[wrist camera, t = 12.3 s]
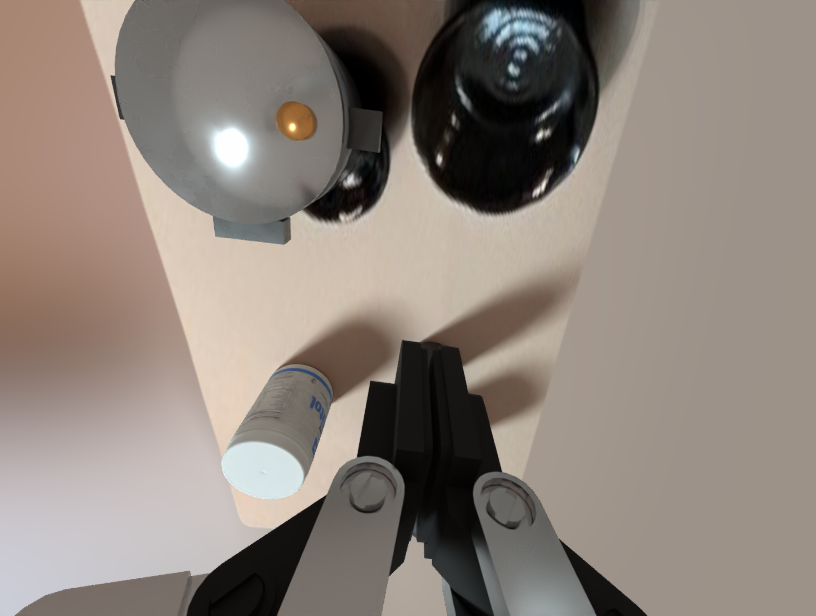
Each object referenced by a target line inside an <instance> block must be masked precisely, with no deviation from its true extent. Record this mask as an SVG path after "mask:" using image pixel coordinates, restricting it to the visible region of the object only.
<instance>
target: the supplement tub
mask: <svg viewBox="0 0 816 616" xmlns="http://www.w3.org/2000/svg"><path fill="white" fill-rule="evenodd" d="M332 399H333V390H332V386H331V384H330V382H329V381H328V379H327V378H326V377H325V376H324V375H323V374H322V373H321V372H320V371H318V370H317V369H315V368H313V367H310V366H307V365H302V364H292V365H287V366H284V367H282V368H280V369H278V370H277V371H275V372H274V373H273V374H272V376H271V377H270V379H269V380H268V382H267V384H266V385H265V387H264V388H263V390H262V392H261V393H260V395H259V396H258V398H257V400H256V401H255V403H254V404H253V406H252V408H251V409H250V411H249V412H248V414H247V415H246V417H245V419H244V420H243V422H242V423H241V425H240V427H239V428H238V430H237V431H236V433H235V435H234V436H233V438H232V440H231V441H230V443H229V444H228V446H227V449H226V451H225V453H224V455H223V458H222V470H223V473H224V475H225V477H226V478H227V480H228V481H229V482H230V483H231V484H232V485H233V486H234V487H235V488H237V489H238V490H240V491H242V492H243V493H245V494H248V495H250V496H253V497H257V498H262V499H280V498H284V497H287V496H290V495H292V494H294V493H295V492H297V491H298V490H299V489H300V488H301V486H302V485H303V483H304V480H305V478H306V476H307V474H308V472H309V470H310V467H311V464H312V461H313V458H314V455H315V452H316V449H317V446H318V443H319V440H320V437H321V434H322V431H323V428H324V425H325V422H326V418H327V415H328V412H329V409H330V406H331V403H332Z"/></svg>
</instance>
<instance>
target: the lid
mask: <svg viewBox="0 0 816 616" xmlns="http://www.w3.org/2000/svg"><path fill="white" fill-rule="evenodd" d="M115 81H116V88H117V94H118V100H119V103H120V107H121V111H122V114H123V117H124V120H125V122H126V125H127V128H128V130H129V132H130V134H131V136H132V138H133V140H134V142H135V144H136V146H137V148H138V150H139V151H140V153H141V154H142V156H143V158H144V159H145V161H146V162H147V163H148V165H149V166H150V167H151V168H152V170H153V171H154V172H155V174H156V175H157V176H158V177H159V178H160V179H161V180H162V181H163V182H164V183H165V184H166V185H167V186H168V187H169V188H170V189H171V190H172V191H174V192H175V193H176V194H177V195H178V196H180V197H181V198H182V199H184V200H185V201H186V202H188V203H189V204H191V205H193V206H194V207H196V208H198V209H200V210H201V211H203V212H205V213H208V214H210V215H212V216H214V217H217V218H220V219H224V220H227V221H231V222H237V223H243V224H262V223H270V222H274V221H279V220H281V219H284V218H287V217H289V216H291V215H293V214H295V213H297V212H299V211H300V210H302V209H303V208H305V207H306V206H308V205H309V204H310V203H311V202H313V201H314V200H315V199H316V198H317V197H318V196H319V195H320V194H321V193H322V192H323V190H324V189H325V188H326V186H327V185H328V183H329V182H330V180H331V178H332V176H333V175H334V173H335V171H336V168H337V166H338V163H339V160H340V157H341V153H342V148H343V144H344V134H345V111H344V103H343V96H342V92H341V88H340V84H339V80H338V77H337V75H336V72H335V69H334V67H333V64H332V62H331V60H330V58H329V56H328V54H327V52H326V50H325V48H324V46H323V45H322V43H321V42H320V40H319V38H318V37H317V35H316V34H315V32H314V31H313V30H312V29H311V27H310V26H309V25H308V24H307V22H306V21H305V20H304V19H303V18H302V16H301V15H300V14H299V13H298V12H297V11H296V10H295V9H294V8H293V7H292V6H291V5H290V4H289V3H288V2H286V1H285V0H135V1H134V3H133V4H132V6H131V8H130V9H129V11H128V13H127V15H126V16H125V19H124V22H123V24H122V27H121V29H120V33H119V37H118V42H117V46H116V56H115Z"/></svg>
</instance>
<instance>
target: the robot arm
mask: <svg viewBox="0 0 816 616" xmlns="http://www.w3.org/2000/svg"><path fill="white" fill-rule="evenodd" d="M415 522H416V539H417V542H423V543H424V558H428V559H432V565H433V567H434V568H435V569H436V570H437V571H438V572H439V573H440V575H441V576H442V577H443V578H442V588H443V594H444V600H445V605H446V611H447V615H448V616H647V615H646V614H645V613H644V612H643V611H642V610H641V609H640V608H639V607H638V606H637V605H636V604H635V603H633V602H632V601H631V600H630V599H629V598H628V597H627V596H625V595H624V594H623V593H622V592H621V591H619V590H618V589H617V588H616V587H615V586H614V585H612V584H611V583H610V582H609V581H608V580H607V579H605V578H604V577H603V576H602V575H601V574H600V573H598V572H597V571H596V570H595V569H594V568H593V567H591V566H590V565H589V564H588V563H587V562H586V561H584V560H583V559H582V558H581V557H580V556H579V555H577V554H576V553H575V552H574V551H573V550H571V549H570V548H569V547H568V546H567V545H565V544H564V543H563V542H562V541H561V540H560V539H558V536H557V534H556V532H555V530H554V528H553V527H552V524H551V522H550V520H549V518H548V516H547V514H546V512H545V510H544V509H543V506H542V504H541V502H540V500H539V499H538V497H537V496H536V494H535V493H534V491H533V490H532V489H531V488H530V487H529V486H528V485H527V484H526V483H525V482H523V481H521V480H520V479H518V478H517V477H515V476H513V475H510V474H507V473H503V472H502V469H501V466H500V462H499V458H498V454H497V450H496V447H495V443H494V439H493V435H492V431H491V427H490V424H489V420H488V416H487V412H486V408H485V405H484V401H483V398H482V397H481V396H480V395H474V394H468V389H467V385H466V380H465V375H464V370H463V366H462V361H461V356H460V351H459V348H455V347H448V346H441V345H440V346H439V348H438V350H434V349H432V351H431V355H430V360H429V364H428V354H427V348H421V343H419V342H412V341H405V340H402V344H401V349H400V355H399V361H398V367H397V372H396V378H395V384H391V383H384V382H376V381H370V386H369V392H368V397H367V403H366V409H365V414H364V420H363V426H362V431H361V437H360V442H359V448H358V454H357V458H355V459H353V460H350V461H348V462H347V463H345V464H344V465H343V466H342V467H341V468H340V469H339V470H338V472H337V474H336V475H335V477H334V479H333V481H332V484H331V486H330V489H329V491H328V493H327V495H326V496H324V497H323V498H321V499H320V500H318V501H316V502H315V503H313V504H312V505H310V506H309V507H307V508H306V509H304V510H303V511H301V512H300V513H298V514H297V515H295V516H294V517H292V518H291V519H289V520H288V521H286V522H285V523H283V524H282V525H280V526H278V527H277V528H275V529H274V530H272V531H271V532H269V533H268V534H266V535H265V536H263V537H262V538H260V539H259V540H257V541H256V542H254V543H253V544H251V545H250V546H248V547H247V548H245V549H243V550H242V551H241V552H239V553H238V554H236V555H234V556H233V557H232V558H230V559H228V560H227V561H225V562H224V563H222V564H221V565H220V566H218V567H217V568H216V569H215V570H214V571H212V572H211V573H209V574H202V575H196V576H191V573H190V571H185V572H179V573H172V574H165V575H158V576H152V577H145V578H138V579H132V580H125V581H118V582H111V583H105V584H98V585H91V586H85V587H78V588H71V589H65V590H62V591H58V592H55V593H52V594H49V595H46V596H44V597H42V598H40V599H39V600H37V601H35V602H33V603H32V604H30V605H28V606H26V607H25V608H23V609H22V610H21V611H20V612H19V613H17V614H16V615H15V616H381V614H382V609H383V604H384V598H385V593H386V587H387V583H388V577H389V576H390V575H391V574H392V573H393V572H394V571H395V570H396V569H397V568H398V567H399V566H400V565H401V564H402V563H403V562H404V559H405V555H406V551H407V547H408V544H409V541H410V540H411V537H412V534H413V530H414V526H415Z"/></svg>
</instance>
